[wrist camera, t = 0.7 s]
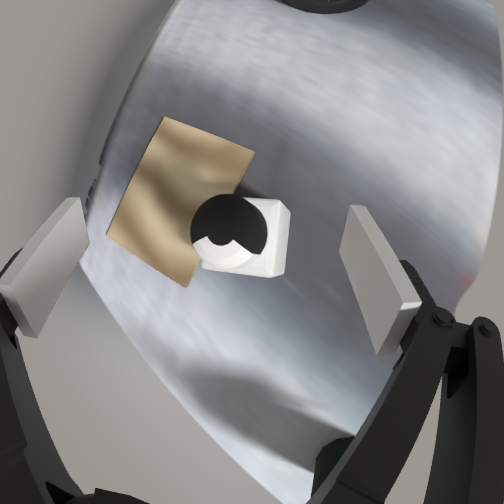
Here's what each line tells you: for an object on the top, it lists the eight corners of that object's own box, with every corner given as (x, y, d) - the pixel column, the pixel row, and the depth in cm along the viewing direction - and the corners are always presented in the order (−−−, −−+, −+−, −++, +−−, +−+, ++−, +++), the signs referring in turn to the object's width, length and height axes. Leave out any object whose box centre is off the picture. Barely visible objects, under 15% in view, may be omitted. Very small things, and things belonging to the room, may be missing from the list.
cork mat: (166, 118, 40) (164, 116, 40) (255, 153, 37) (253, 151, 37) (108, 236, 42) (106, 235, 41) (187, 287, 39) (184, 287, 38)
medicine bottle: (230, 206, 38) (186, 183, 26) (291, 211, 36) (271, 187, 24) (223, 267, 38) (175, 269, 26) (284, 274, 36) (260, 281, 24)
